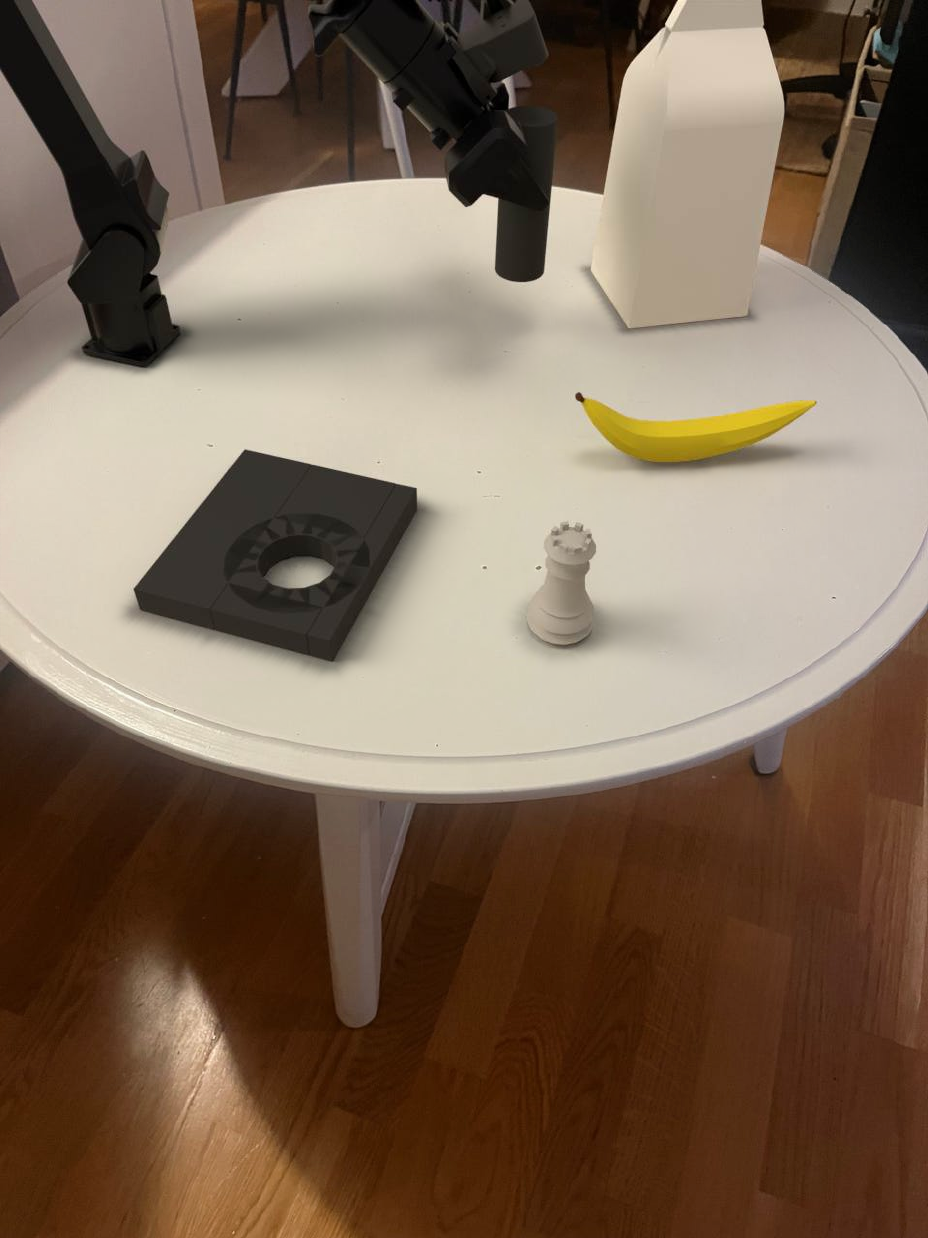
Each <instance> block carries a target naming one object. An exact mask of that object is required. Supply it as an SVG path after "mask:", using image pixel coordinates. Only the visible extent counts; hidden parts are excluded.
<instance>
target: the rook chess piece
mask: <svg viewBox="0 0 928 1238" xmlns="http://www.w3.org/2000/svg"><path fill="white" fill-rule="evenodd" d="M584 526H585V525H584V524H583V523H580V522H578V521H576V522H575V524H574V526H570V523H569V520H567V521H562V522H560V526H557V525H554V526H553V528H552V529H551V530H550V533H548V535H547V536H546V537H545V539H544V540H543V549H544V551H545V553H546V556H547V557H546V558H545V564H544V565H545V567H546V569H547V573H546V575H545V578H544V582H543V584H542V585H541V586H540V588H539V589H538V590H537V591H536V592H535V593H534V595H533V596H532V597H531V599H530V601H529V606H528V610H527V616H526V622H527V624H528V627H529V628H530V630H531V631H532V632H533V633H534V634H535V635H536V636H537V637H538V638H540V640H542V641H544V642H545V643H549V644H551V645H557V646H568V645H573V644H575V643H578V642H579V641H581V640H582V639H585V638H586V637H588V636H589V634H590V633H591V632H592V630H593V628H594V614H595V613H594V612H595V608H594V604H593V602H592V599H591V598H590V596H589V594H588V592H587V590H586V575H587V574H588V573H589V571H590V569H591V568H590V567H591V562H590V560H592V559H594V556H595V555H596V553H597V544H596V542H595V540H594V538H593V537H592V536H593V533H592V531H591V530H590V528H587V529H585V530H584Z"/></svg>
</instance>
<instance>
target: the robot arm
mask: <svg viewBox="0 0 928 1238" xmlns="http://www.w3.org/2000/svg"><path fill="white" fill-rule="evenodd" d="M303 1H305V2H315V1H316V0H303ZM427 1H428V2H429V3H432V2H433V1H434V0H427ZM436 1H437V2H438V3H441V2H442V0H436ZM448 1H449V2H451V3H452V2H453V0H448ZM307 8H308V9H307V11H308V12H307V18H308V20H309V23H310V26H311V30H312V37H313V39H312V40H313V44H312V46H313V50H312V51H313V54H314V55H315V56H316V57H318V58H319V57H322V56H324V54H325V53H326V52H327V51H328V50H329V48H330V47H331V46H332V45H333V43H334V42H335V41H336V40H337V39H338V38H339V39H340V40H341V41H342V42H343V43H344V44H345V45H346V46H347V47H348V48H349V49H350V51H352V53H354V54H355V56H357V58H358V59H359V60H360V61H361V62H362V63H363V64H364V65H365V66H366V67H367V68H368V69H369V70H370V71H371V72H372V73H373V74H374V75H375V76H376V77H377V78H378V79H379V81H381V83H382V84H383V85H384V86H385V87H386V88H387V89H388V90H389V91H390V92H391V97H392V103H394V105H396V107H397V108H398V109H399V110H400V111H401V112H404V111H405V109H407V110H409V111H410V113H412V114H413V116H414V117H415V118H416V119H417V120H418V121H419V122H420V123H421V124H422V125H423V126H424V127H425V128H426V129H427V131H428V132H429V136H430V140H431V141H430V142H431V143H432V144H433V145H434V146H435V147H436V148H437V149H438V150H439V151H441V150H443V149H444V147H446V146H447V144H448V143H449V142H450V141H451V140H452V142H453V145H452V146H451V147H450V149H448V151H447V152H446V153H444V176H445V180H446V184H447V189H448V191H449V192H450V194H452V195H453V196H454V197H455V198H456V199H457V200H458V201H459V203H461V205H462V206H463V207H465V208H468V207H471V206H473V205H474V204H475V203H476V202H477V201H478V200H479V199H480V198H481V197H482V196H483V195H484V196H488V197H492V198H495V199H497V200H498V199H502V200H505V201H508V202H511V203H514V204H517V205H520V206H523V207H526V208H529V209H532V210H535V211H537V212H542V211H543V210H544V209H545V208H546V207H547V206H548V205H549V203H550V204H551V201H550V202H549V200H548V198H547V196H546V195H545V193H544V191H543V190H542V188H541V186H540V185H539V183H538V182H537V180H536V178H535V177H534V175H533V173H532V172H531V170H530V169H529V167H528V165H527V164H526V162H525V160H524V159H523V157H522V155H523V153H524V151H525V150H526V148H527V144H526V142H525V139H524V134H523V131H522V128H521V125H520V123H519V121H517V122H516V123H515V122H514V121H513V119H512V118H511V117H510V116H509V115H508V114H507V113H506V112H505V111H506V110H507V109H510V94H509V91H508V88H507V86H506V83H505V82H502V81H504V80H505V79H508V78H510V77H512V76H514V75H515V74H517V73H520V72H522V71H523V70H525V69H527V68H530V67H531V68H536V67H538V66H539V65H541V64H543V63H544V62H546V60H547V59H548V58H549V51H548V48H547V46H546V42H545V39H544V36H543V34H542V31H541V27H540V24H539V22H538V19H537V15H536V12H535V11H534V8H533V6H532V4H531V2H530V1H529V0H515V2H514V1H513V0H480V12H479V14H480V15H479V21H478V20H477V19H476V20H473V21H472V26H471V27H469V28H468V29H466V30H464V31H462V32H461V33H458V32H457V31H456V29H454V27H453V26H452V25H451V24H450V23H449V22H448V21H447V22H446V23H444V22H443V21H442V20H440V21H439V23H438V21H436V20H435V18H433V16H432V15H431V14H430V13H429V11H428V10H427V9H426V8H425V7H424V5H422V4H421V3H420V2H419V0H328V2H327V3H323V4H314V3H311V4H309V5H308V7H307ZM0 73H1V74H2V76H3V77H4V79H5V80H6V82H7V84H8V85H9V88H10V89H11V90H12V92H13V93H14V94H13V95H15V97H16V99H17V100H18V102H19V103H20V106H21V107H22V109H23V110H24V112H25V113H26V115H27V117H28V118H29V120H30V122H31V123H32V125H33V127H34V128H35V130H36V131H37V133H38V135H39V137H40V138H41V140H42V141H43V143H44V144H45V146H46V148H47V149H48V152H49V153H50V155H51V156H52V158H53V159H54V161H55V163H56V164H57V166H58V167H59V170H60V172H61V175H62V177H63V180H64V186H65V189H66V192H67V196H68V201H69V204H70V208H71V211H72V216H73V219H74V221H75V224H76V226H77V229H78V231H79V233H80V236H81V242H80V244H79V247H78V249H77V253H76V255H75V259H74V261H73V263H72V267H71V270H70V273H69V275H68V278H67V286H68V287H69V288H70V290H71V291H72V293H73V294H74V296H75V297H76V299H77V300H78V301H79V303H80V304H81V307H82V311H83V315H84V318H85V321H86V324H87V329H88V332H89V336H90V339H89V340H88V341H86V342H85V343H84V344H83V345H82V346H81V352H82V353H83V355H87V356H92V357H97V358H102V359H107V360H111V361H117V362H121V363H125V364H131V365H135V366H139V367H145V366H147V365H149V364H150V363H152V362H153V360H154V359H156V357H157V356H158V355H159V354H160V353H161V352H163V350H165V348H166V347H167V346H168V345H170V343H171V342H172V341H174V340H175V339H176V338H177V336H179V334H180V333H181V332H182V331H181V327H180V325H178V324H175V323H173V322H172V321H173V320H172V316H171V313H170V307H169V304H168V299H167V296H166V295H165V294H164V293H162V290H161V289H162V288H161V285H160V281H159V275H157V274H154V273H152V272H153V271H154V269H155V268H156V267H157V265H158V264H159V261H160V258H161V255H162V251H163V247H164V241H165V237H166V234H167V228H168V224H169V218H170V217H169V209H168V201H169V198H170V192H169V191H168V189H166V188H165V187H164V186H163V185H162V184H161V183H160V181H159V180H158V178H157V177H156V175H155V173H154V170H153V167H152V164H151V162H150V159H149V157H148V155H147V153H146V151H145V150H143V149H141V150H140V151H138V152H137V153H135V154H133V155H132V156H129V155H128V154H127V153H126V152H125V151H123V150H122V149H121V148H120V147H119V146H118V145H117V144H115V142H113V141H112V139H111V138H110V137H109V135H108V134H107V132H106V130H105V128H104V126H103V124H102V122H101V121H100V119H99V117H98V115H97V114H96V112H95V111H94V110H95V109H93V106H92V105H91V103H90V101H89V100H88V97H87V96H86V94H85V92H84V91H83V89H82V87H81V85H80V83H79V81H78V80H77V78H76V77H75V74H74V72H73V71H72V69H71V67H70V65H69V63H68V62H67V60H66V58H65V57H64V54H63V53H62V50H61V49H60V48H59V45H58V44H57V41H56V40H55V38H54V37H53V35H52V33H51V32H50V29H49V28H48V26H47V24H46V22H45V21H44V19H43V17H42V15H41V14H40V11H39V10H38V8H37V7H36V5H35V2H34V1H33V0H0ZM500 82H502V83H500ZM497 83H500V84H498V86H496V87H495V86H494V85H493V84H497Z"/></svg>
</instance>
